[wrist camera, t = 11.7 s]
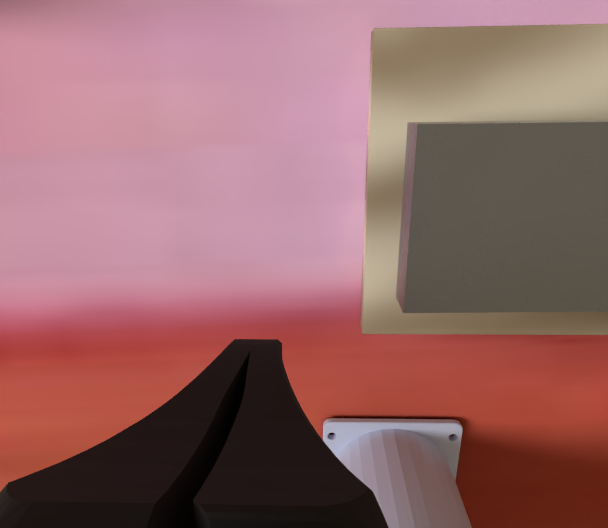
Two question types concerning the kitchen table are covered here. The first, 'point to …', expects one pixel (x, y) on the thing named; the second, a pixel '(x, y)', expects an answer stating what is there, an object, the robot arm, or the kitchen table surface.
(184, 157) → the kitchen table surface
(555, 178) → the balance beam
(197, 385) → the robot arm
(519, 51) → the beam stand
